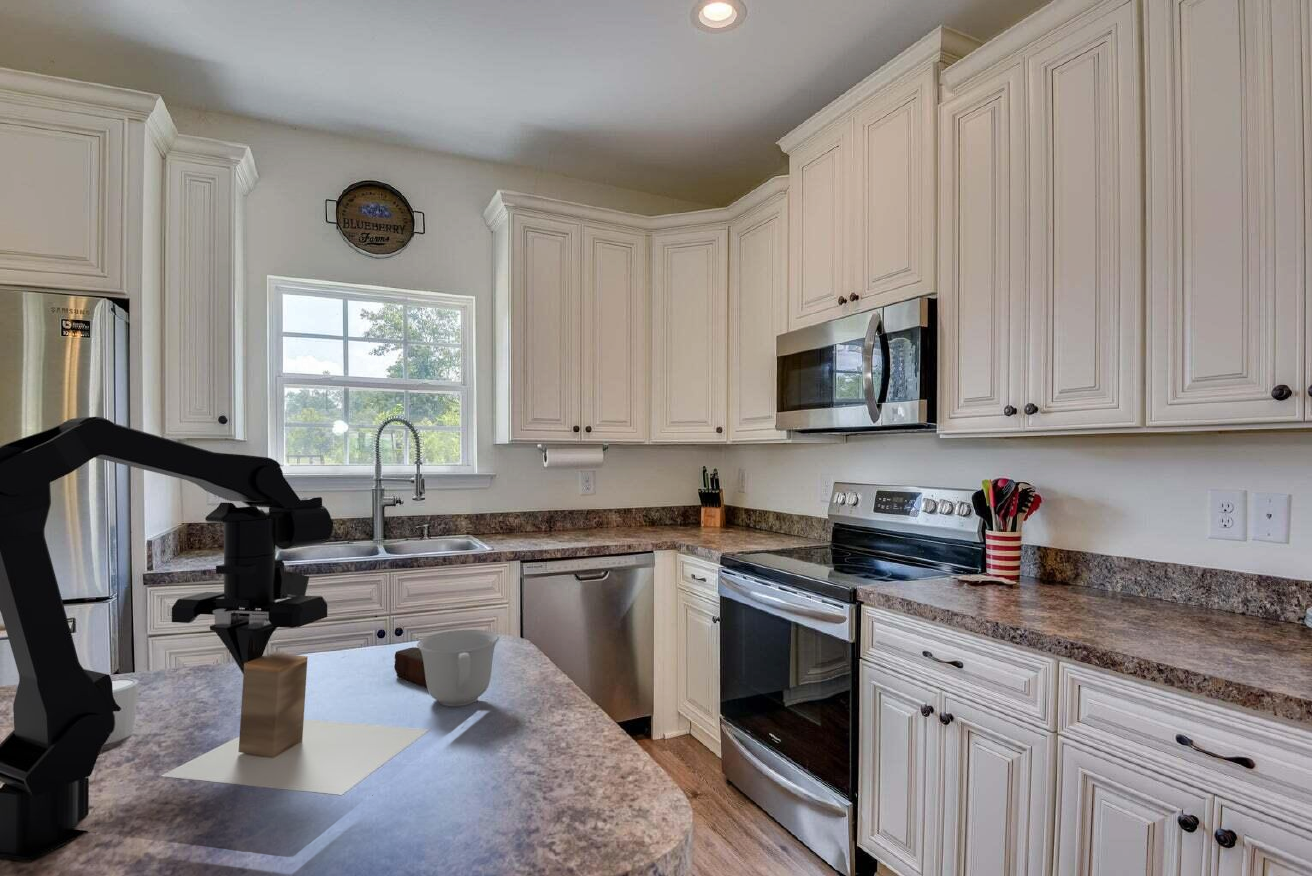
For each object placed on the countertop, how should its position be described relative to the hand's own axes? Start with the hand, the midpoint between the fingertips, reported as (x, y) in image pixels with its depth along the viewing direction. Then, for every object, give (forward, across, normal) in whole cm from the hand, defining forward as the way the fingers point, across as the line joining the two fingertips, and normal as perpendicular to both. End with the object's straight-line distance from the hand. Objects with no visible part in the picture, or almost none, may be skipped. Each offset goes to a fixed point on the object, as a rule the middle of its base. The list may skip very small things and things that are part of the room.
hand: (250, 676), depth 87 cm
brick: (+10, -6, -30) cm, 32 cm away
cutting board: (+10, -8, 0) cm, 13 cm away
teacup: (+10, -19, -19) cm, 29 cm away
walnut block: (+9, -3, 0) cm, 9 cm away
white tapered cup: (+10, +24, -1) cm, 26 cm away
